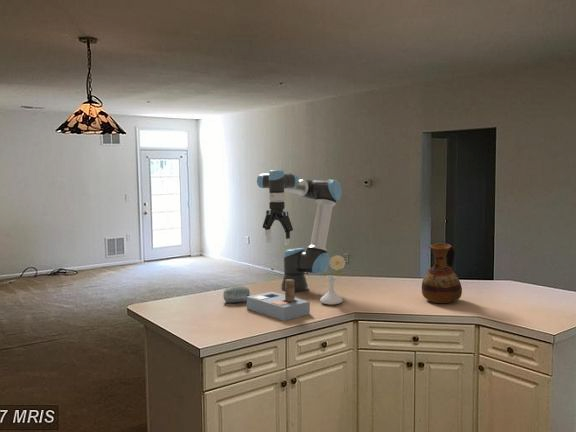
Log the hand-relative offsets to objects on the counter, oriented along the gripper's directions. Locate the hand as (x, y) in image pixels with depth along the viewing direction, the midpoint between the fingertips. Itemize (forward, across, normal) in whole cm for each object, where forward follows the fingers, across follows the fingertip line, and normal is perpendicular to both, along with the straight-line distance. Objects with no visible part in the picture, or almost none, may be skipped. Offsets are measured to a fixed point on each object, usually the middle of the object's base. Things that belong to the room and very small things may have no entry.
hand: (277, 243), depth 256 cm
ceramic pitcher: (+32, +53, +65) cm, 90 cm away
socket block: (+31, +9, -9) cm, 33 cm away
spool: (+31, -19, -12) cm, 39 cm away
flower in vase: (+31, +18, +21) cm, 42 cm away
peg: (+31, +16, -7) cm, 35 cm away
